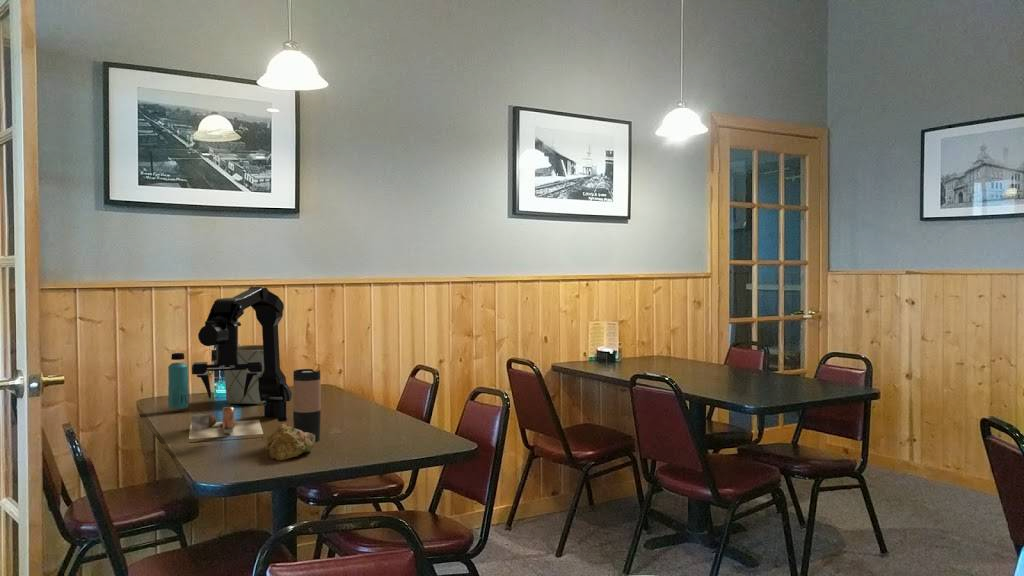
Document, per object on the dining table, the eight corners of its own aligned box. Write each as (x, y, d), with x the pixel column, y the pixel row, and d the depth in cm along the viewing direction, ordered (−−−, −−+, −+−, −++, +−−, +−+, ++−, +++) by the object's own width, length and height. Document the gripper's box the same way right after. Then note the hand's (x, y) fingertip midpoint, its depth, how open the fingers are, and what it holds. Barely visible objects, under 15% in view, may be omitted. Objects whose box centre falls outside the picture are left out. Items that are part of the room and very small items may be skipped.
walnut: (216, 425, 238) (216, 413, 238) (216, 427, 235) (216, 415, 234) (203, 425, 237) (203, 414, 237) (203, 428, 233) (203, 416, 233)
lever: (221, 420, 241) (221, 397, 241) (232, 419, 242) (232, 396, 242) (222, 434, 222) (222, 408, 221) (234, 433, 223) (234, 408, 223)
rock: (301, 470, 209) (316, 435, 212) (307, 471, 201) (323, 435, 205) (259, 454, 205) (276, 419, 209) (264, 455, 198) (281, 418, 201)
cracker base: (259, 423, 247) (259, 407, 247) (263, 437, 226) (263, 420, 226) (190, 427, 239) (190, 410, 239) (188, 443, 219) (188, 424, 219)
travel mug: (293, 443, 219) (293, 372, 219) (293, 438, 226) (293, 369, 226) (321, 442, 221) (321, 372, 221) (320, 436, 228) (320, 368, 228)
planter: (235, 397, 296) (235, 344, 295) (285, 397, 295) (285, 345, 294) (214, 406, 277) (214, 350, 276) (267, 406, 276) (267, 350, 275)
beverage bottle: (181, 413, 262) (181, 354, 261) (163, 412, 263) (163, 353, 263) (192, 410, 268) (192, 352, 268) (175, 409, 270) (175, 351, 269)
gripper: (260, 339, 234) (260, 391, 234) (192, 341, 227) (192, 394, 228) (262, 343, 224) (262, 397, 224) (191, 344, 217) (191, 400, 217)
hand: (227, 397), depth 223 cm, fingers open, 9 cm apart
